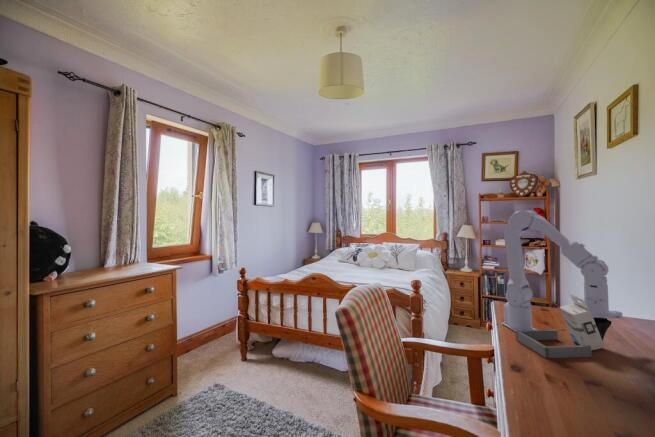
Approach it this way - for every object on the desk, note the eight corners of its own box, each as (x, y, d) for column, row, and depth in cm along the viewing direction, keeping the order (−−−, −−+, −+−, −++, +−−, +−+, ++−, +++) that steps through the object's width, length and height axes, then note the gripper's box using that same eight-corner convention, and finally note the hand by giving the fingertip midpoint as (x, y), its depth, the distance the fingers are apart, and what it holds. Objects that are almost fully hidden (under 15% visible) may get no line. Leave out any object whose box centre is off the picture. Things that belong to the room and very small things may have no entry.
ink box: (572, 340, 101) (554, 298, 102) (588, 336, 100) (570, 293, 101) (588, 351, 92) (569, 305, 93) (606, 347, 91) (586, 300, 92)
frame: (515, 339, 103) (515, 330, 103) (555, 338, 103) (555, 329, 103) (545, 358, 89) (545, 347, 89) (591, 356, 89) (591, 346, 89)
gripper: (584, 302, 92) (586, 347, 92) (631, 301, 92) (633, 345, 92) (565, 296, 99) (567, 338, 99) (609, 295, 99) (611, 337, 99)
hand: (597, 341), depth 96 cm, fingers closed
